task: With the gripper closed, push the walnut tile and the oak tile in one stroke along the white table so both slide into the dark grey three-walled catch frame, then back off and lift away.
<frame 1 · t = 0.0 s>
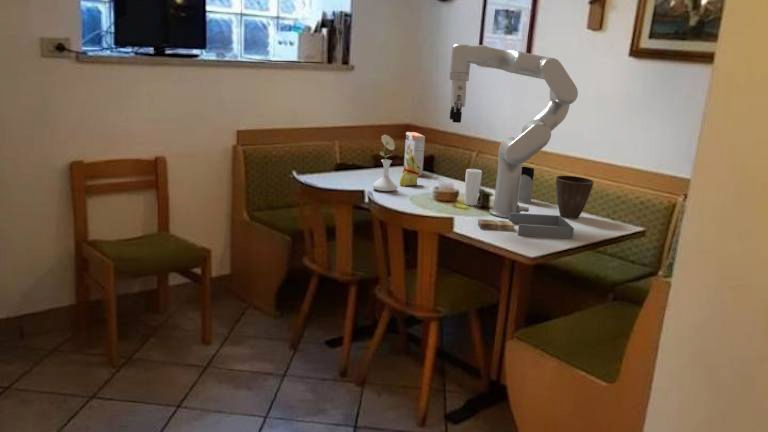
hand: (455, 121, 263), 37 cm above the table, tool pointing down, fingers open, 9 cm apart
drinking glass: (470, 205, 286), on the table
tile walnut: (486, 228, 251), on the table
glass holder: (522, 200, 303), on the table
catch frame: (539, 230, 252), on the table
chocolate bunny: (408, 185, 318), on the table
cracker box: (412, 174, 346), on the table
flower in vase: (384, 190, 303), on the table
tile oak: (503, 229, 251), on the table
plant pot: (569, 217, 277), on the table
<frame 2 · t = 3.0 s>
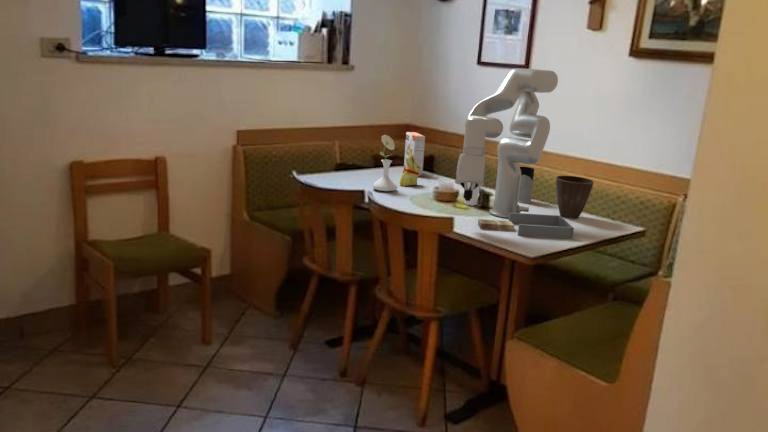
hand: (467, 200, 248), 10 cm above the table, tool pointing down, fingers closed
nothing on the table moved.
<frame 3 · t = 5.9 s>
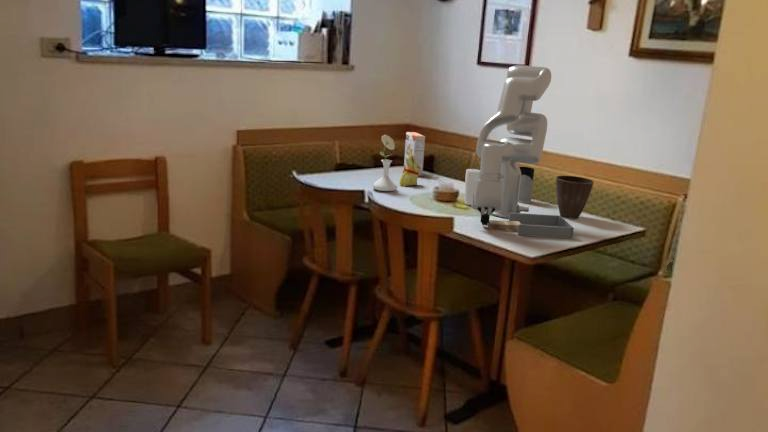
hand: (484, 224, 251), 1 cm above the table, tool pointing down, fingers closed
tile walnut: (496, 228, 251), on the table
tile oak: (511, 229, 251), on the table
everything else where it was.
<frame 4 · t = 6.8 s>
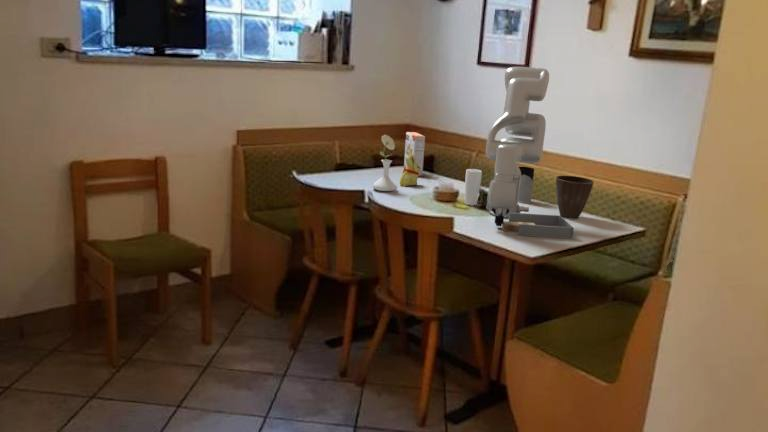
hand: (498, 225, 251), 1 cm above the table, tool pointing down, fingers closed
tile walnut: (510, 230, 250), on the table, touching gripper, tile oak
tile oak: (526, 230, 251), on the table, touching tile walnut
everything else where it was.
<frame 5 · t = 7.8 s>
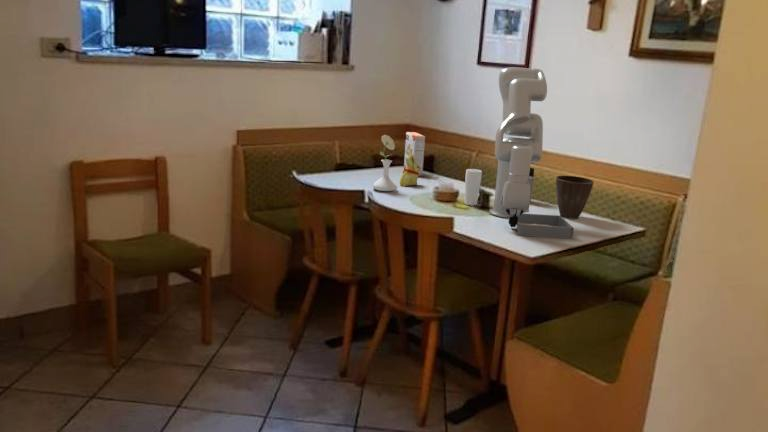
hand: (512, 226, 251), 1 cm above the table, tool pointing down, fingers closed
tile walnut: (525, 231, 249), on the table, touching gripper
tile oak: (541, 232, 250), on the table
everything else where it was.
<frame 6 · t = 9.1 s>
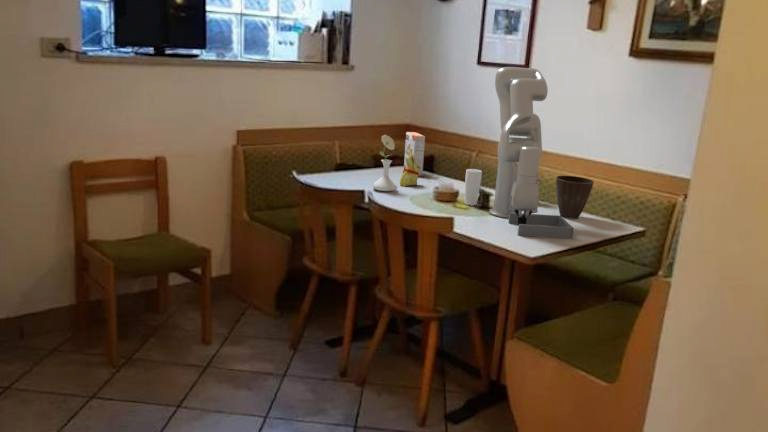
hand: (521, 226, 251), 1 cm above the table, tool pointing down, fingers closed
tile walnut: (532, 233, 248), on the table, touching gripper
tile oak: (549, 234, 249), on the table
everything else where it was.
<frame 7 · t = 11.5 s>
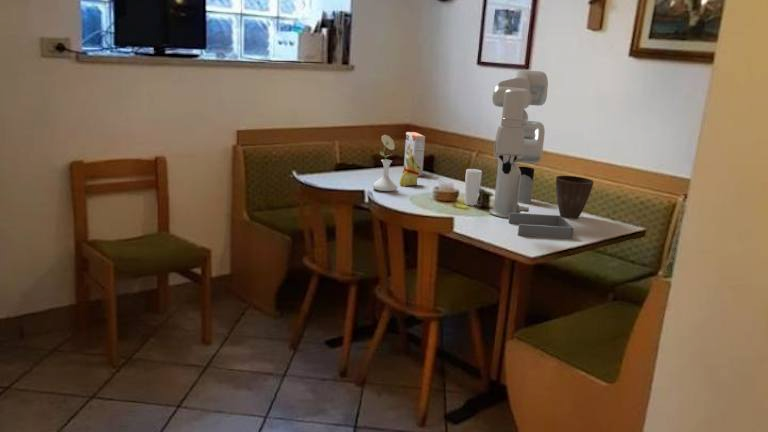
hand: (506, 173, 246), 21 cm above the table, tool pointing down, fingers closed
tile walnut: (532, 233, 248), on the table
everything else where it was.
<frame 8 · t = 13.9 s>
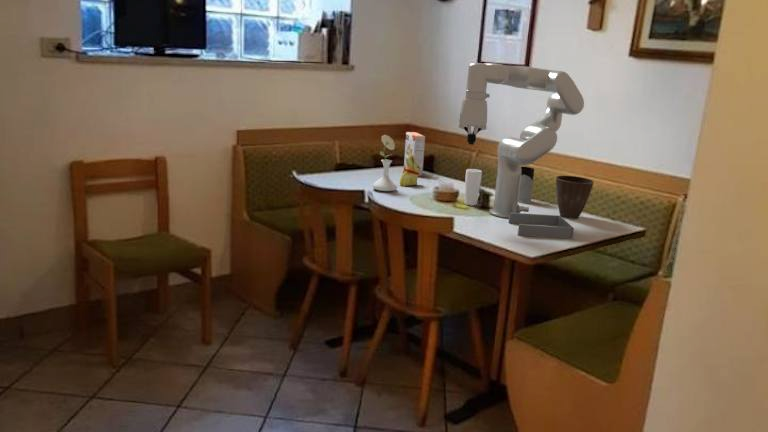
hand: (470, 144, 257), 29 cm above the table, tool pointing down, fingers closed
nothing on the table moved.
at the end: tile walnut inside the target area (5.1 cm from its centre), on the table; tile oak inside the target area (5.1 cm from its centre), on the table; tile walnut moved 17.1 cm from its start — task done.
